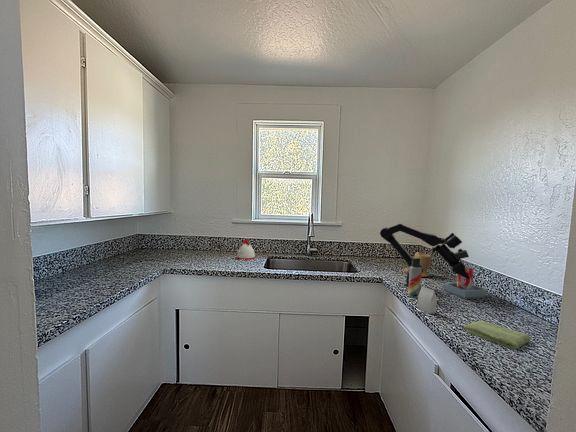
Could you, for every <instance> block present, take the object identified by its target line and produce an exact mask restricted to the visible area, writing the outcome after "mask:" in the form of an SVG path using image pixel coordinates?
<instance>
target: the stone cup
mask: <svg viewBox="0 0 576 432" xmlns="http://www.w3.org/2000/svg"><path fill="white" fill-rule="evenodd" d="M413 258H419V259H420V263H422V267H423V273H422V274H421V278H423V277H424V278H425V277H429V276H430V275H431V274H430V273H429V272H428V268H429V267H430V264H431V262H432V255H430V254H428V253H427V254H426V253H424V252H419V251H417V252H415V254H414V257H413ZM409 269H410V267H409V266H408V267H406V268H405V267H404V268H403V271H405V272H406V273H408V270H409Z"/></svg>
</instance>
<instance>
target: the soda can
mask: <svg viewBox="0 0 576 432" xmlns="http://www.w3.org/2000/svg"><path fill="white" fill-rule="evenodd" d="M464 265H465V264H464ZM465 271H466V272H467V274H468V276H469V277H470V278H469V279H467V278H465V277H463V276H461V275H459V274H457V277H456V279H457V280H456V283H457V287H459V288H460V289H463V290H470V289H472V285H473V280H474V269H473V266H470V265H465Z"/></svg>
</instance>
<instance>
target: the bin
mask: <svg viewBox="0 0 576 432" xmlns="http://www.w3.org/2000/svg"><path fill="white" fill-rule="evenodd" d="M443 292H446V293H448V294H451V295H453V296H456V297H458V298H461V299H464V300H472V299H483V298H488V297H487V295H488V289H486V288H483V287H481V286H477V285H473V284H472V289H470V290H463V289H460V288H459V287H457V282H446V283H443Z"/></svg>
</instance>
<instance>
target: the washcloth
mask: <svg viewBox="0 0 576 432" xmlns="http://www.w3.org/2000/svg"><path fill="white" fill-rule="evenodd" d="M463 328H464V329H465V330H466V333H468V334H470V335H473V336H475V337H478V338H481V339H484V340H487V341H490V342H492V343H495V344H498V345H500V346H503V347H506V348H508V349H511V350H518V349H519V348H520V347H522V346H523V345H526V344H527V343H528V344H529V343H530V342H531V338H530V336H529V335H528V334H526V333H524V332H521V331H517V330H513V329H510V328H508V327H505V326H500V325H497V324H494V323H491V322H488V321H484V320H479V321H473V322H470V323H469V324H463Z"/></svg>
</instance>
